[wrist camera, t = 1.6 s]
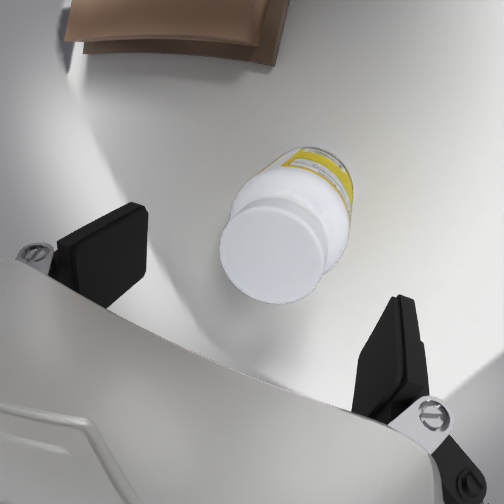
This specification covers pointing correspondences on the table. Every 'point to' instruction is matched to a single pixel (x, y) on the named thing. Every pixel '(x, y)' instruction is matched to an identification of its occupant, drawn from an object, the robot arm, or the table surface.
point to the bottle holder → (180, 27)
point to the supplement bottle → (288, 226)
